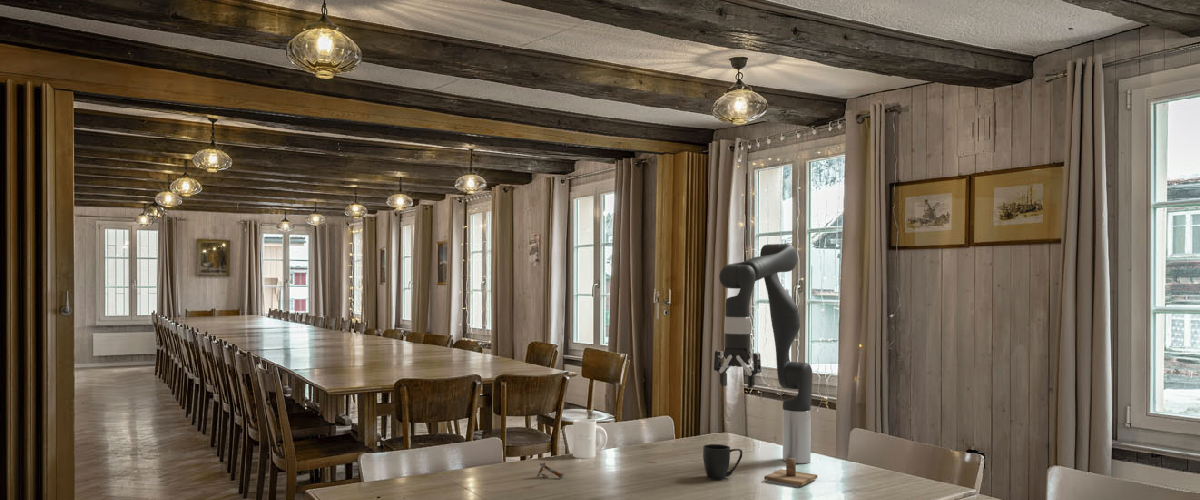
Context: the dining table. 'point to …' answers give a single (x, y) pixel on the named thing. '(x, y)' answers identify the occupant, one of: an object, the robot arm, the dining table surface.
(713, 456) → the mug
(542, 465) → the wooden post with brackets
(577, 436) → the mug
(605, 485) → the dining table surface
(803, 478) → the lid
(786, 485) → the mat
